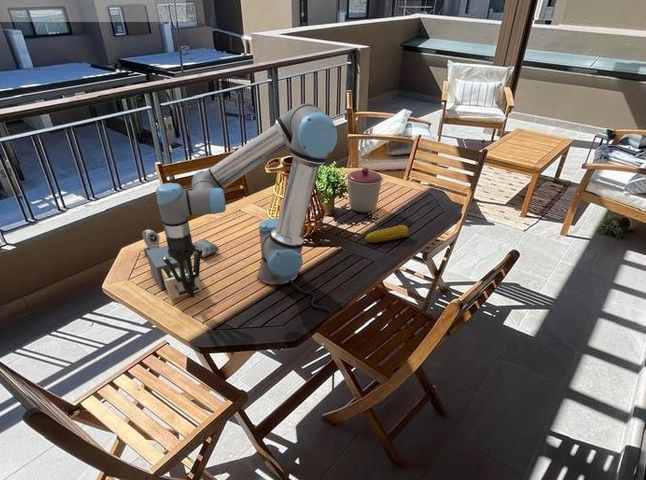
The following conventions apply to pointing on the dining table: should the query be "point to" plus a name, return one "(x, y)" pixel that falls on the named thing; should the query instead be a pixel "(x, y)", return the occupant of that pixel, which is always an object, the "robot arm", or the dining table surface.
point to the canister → (364, 189)
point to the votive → (177, 272)
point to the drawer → (172, 285)
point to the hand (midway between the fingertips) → (191, 295)
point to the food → (387, 234)
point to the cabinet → (159, 262)
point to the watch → (150, 240)
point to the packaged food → (206, 247)
